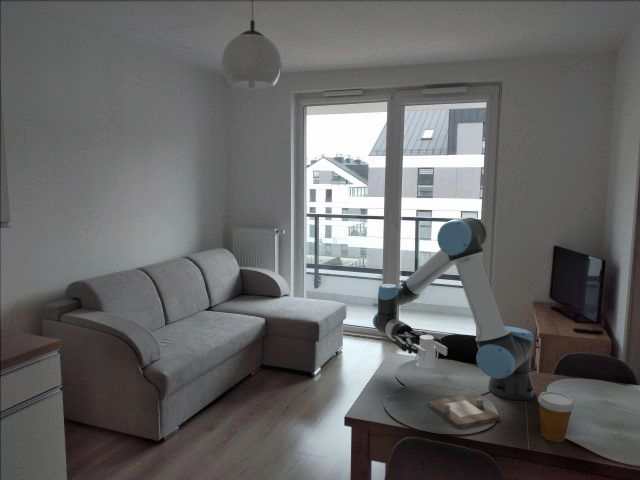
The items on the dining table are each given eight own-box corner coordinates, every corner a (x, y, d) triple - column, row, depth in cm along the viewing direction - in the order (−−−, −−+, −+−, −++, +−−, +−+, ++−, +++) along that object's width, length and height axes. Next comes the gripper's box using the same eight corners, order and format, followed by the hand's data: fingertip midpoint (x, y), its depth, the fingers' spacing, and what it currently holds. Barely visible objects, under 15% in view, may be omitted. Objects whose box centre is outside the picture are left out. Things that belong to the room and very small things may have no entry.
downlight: (433, 360, 166) (433, 332, 165) (442, 368, 160) (442, 339, 158) (411, 362, 165) (411, 334, 164) (419, 370, 158) (419, 341, 157)
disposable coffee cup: (569, 449, 135) (573, 408, 133) (532, 438, 140) (536, 399, 138) (572, 434, 143) (575, 396, 141) (537, 425, 148) (540, 388, 146)
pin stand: (467, 397, 165) (467, 389, 165) (499, 419, 150) (500, 410, 150) (427, 404, 159) (428, 395, 159) (457, 428, 145) (458, 418, 144)
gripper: (422, 338, 182) (460, 360, 161) (374, 344, 175) (407, 367, 154) (423, 319, 181) (461, 338, 160) (375, 324, 174) (408, 345, 153)
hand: (435, 352), depth 157 cm, fingers closed on downlight, 8 cm apart
